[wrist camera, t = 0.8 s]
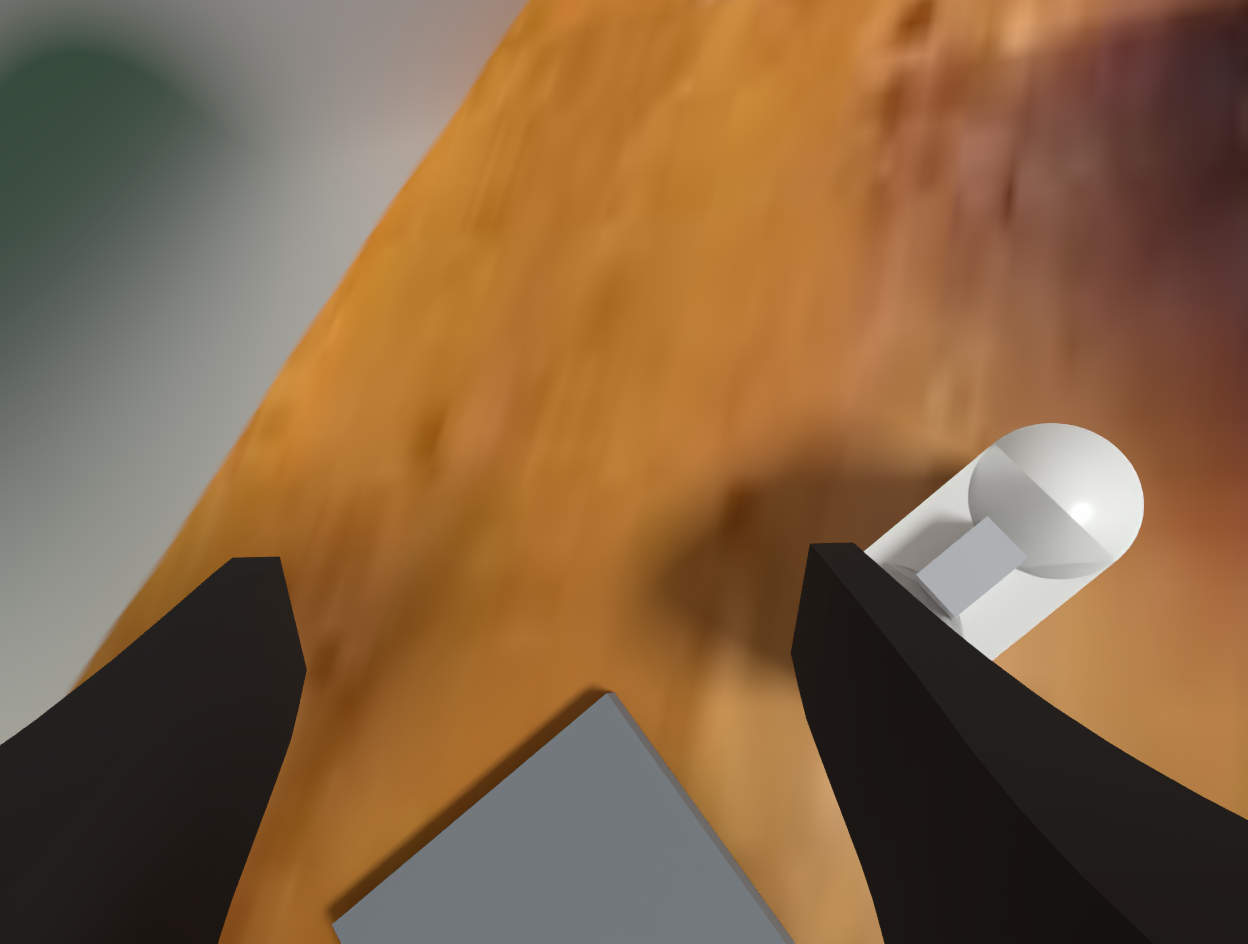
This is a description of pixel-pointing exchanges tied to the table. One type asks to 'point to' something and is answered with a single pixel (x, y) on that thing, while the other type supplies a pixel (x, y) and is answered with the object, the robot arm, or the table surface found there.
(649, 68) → the table surface
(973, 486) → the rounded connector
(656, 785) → the slate mat
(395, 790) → the table surface
